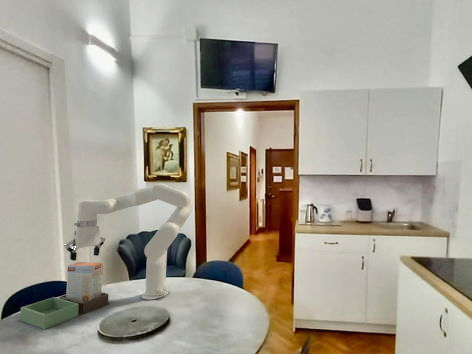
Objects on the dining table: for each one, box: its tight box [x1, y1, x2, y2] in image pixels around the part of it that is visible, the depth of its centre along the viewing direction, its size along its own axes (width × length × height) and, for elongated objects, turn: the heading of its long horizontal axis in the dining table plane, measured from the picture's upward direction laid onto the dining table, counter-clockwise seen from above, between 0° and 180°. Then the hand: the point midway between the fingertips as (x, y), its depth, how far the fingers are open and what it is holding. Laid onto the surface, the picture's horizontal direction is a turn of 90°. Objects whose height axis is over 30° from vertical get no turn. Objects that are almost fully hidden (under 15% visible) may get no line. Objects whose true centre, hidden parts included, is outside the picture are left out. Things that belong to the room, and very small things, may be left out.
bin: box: [19, 296, 79, 330], centre depth 114 cm, size 20×12×6 cm, turn 70°
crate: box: [58, 291, 110, 315], centre depth 126 cm, size 20×12×5 cm, turn 70°
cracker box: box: [65, 261, 104, 303], centre depth 126 cm, size 14×6×21 cm, turn 84°
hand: (85, 257), depth 127 cm, fingers open, 9 cm apart
